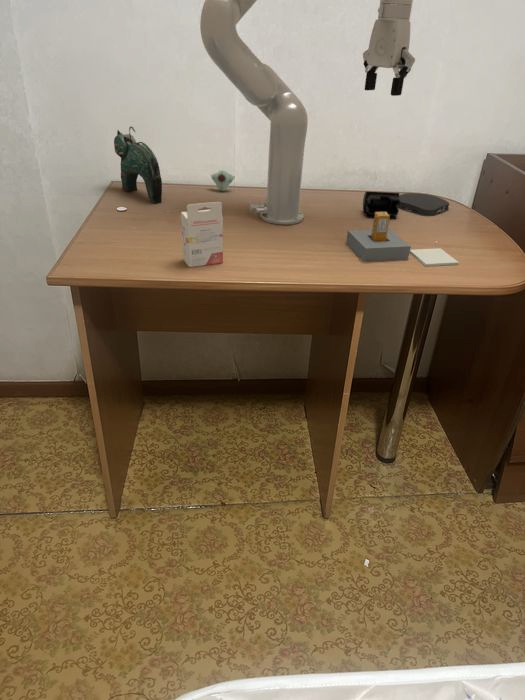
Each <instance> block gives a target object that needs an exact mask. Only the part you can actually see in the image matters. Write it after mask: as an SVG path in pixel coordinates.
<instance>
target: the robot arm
mask: <svg viewBox="0 0 525 700" xmlns="http://www.w3.org/2000/svg"><path fill="white" fill-rule="evenodd" d="M257 1H258V0H204V3H203V5H202V9H201V13H200V23H199V28H200V36H201V41H202V44H203V46H204V49H205V51H206V54H208V56H209V58H210V59H211V61H212V62H213V64H215V65H216V66H217V67H218V69H219V70H220V71H221V72H222V73H223V74H224V75H225V77H227V80H229V81H230V82H231V84H233V85H234V87H235V88H236V89H237V90H238V91H239V92H240V94H241V95H242V96H243V97H244V98H245V100H247V101H248V103H249V104H250V105H253V106H255V107H256V108H258V110H259V111H260V112H261V113H262V114H264V116H265V117H266V118H267V119H268V120H269V121H270V130H269V145H268V146H269V147H268V148H269V149H268V162H267V163H268V167H267V183H266V184H267V185H266V199H263V202H260V203H259V204H258V203H250V204H249V211H250V212H255V213H259V214H260V218H261V219H262V221H265V222H267V223H270V224H274V225H281V226H282V225H283V226H284V225H296V224H298V223H301V222H302V221H303V220H304V213H303V212H302V211H300V201H301V200H300V199H301V189H302V179H303V168H304V167H303V166H304V155H305V154H304V153H305V145H306V138H307V132H308V122H309V121H308V114H307V110H306V108H305V106H304V104H303V103H302V102H301V100H300V99H299V97H298V96H297V95H296V94H295V93H294V92H293V91H292V90H291V89H290V87H289V86H288V85H287V84H286V83H285V82H284V80H282V78H281V77H280V76H279V75H278V74H277V72H275V70H274V69H273V68H272V67H270V65H267V64H266V63H263V62H262V61H261V60H260V59H259V58H258V57H257V55H255V53H254V52H253V51H252V50H251V49H250V47H249V46H248V45H247V44H246V43H245V42H244V41H243V39H242V38H241V37H240V36H239V34H238V31H237V24H238V23H239V22H240V20H242V19H243V17H244V16H245V15H246V14H247V12H249V10H250V9H251V8H252V7H253V6H254V4H255V3H256V2H257ZM413 1H414V0H379V7H378V9H377V13H378V14H377V15H378V17H377V19H375V21H374V23H373V26H372V30H371V33H370V37H369V38H370V39H369V44H368V49H367V50H364V51H363V54H362V58H363V59H362V60H363V67H364V68H365V69H364V71H365V74H366V75H365V80H364V81H365V83H364V91H374V90H376V86H377V77H378V72H376V71H377V70H378V69H379V68H385V69H391V68H392V71H393V73H394V76H395V77H393V78H392V82H391V83H392V84H391V88H390V95H391V96H392V97H394V96H395V97H396V96H397V97H398V96H401V95H402V92H403V87H404V80H405V78H407V76H408V74H409V73H410V72H411V70H412V67H413V65H414V63H415V62H416V58H415V57H414V56H413V55H412V54H411V53H410V52H409V49H410V42H411V41H410V40H411V21H410V19H411V13H412V8H413V6H412V5H413Z"/></svg>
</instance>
